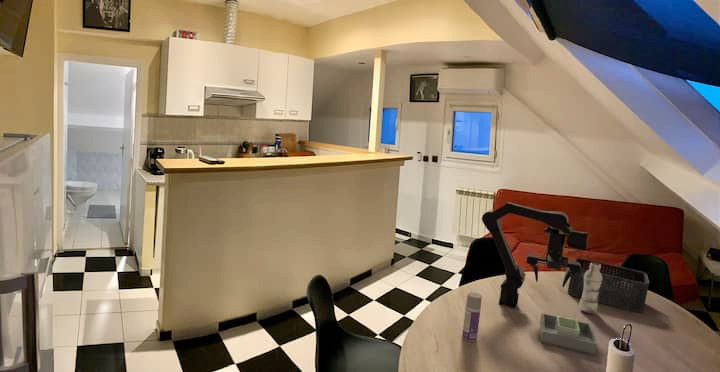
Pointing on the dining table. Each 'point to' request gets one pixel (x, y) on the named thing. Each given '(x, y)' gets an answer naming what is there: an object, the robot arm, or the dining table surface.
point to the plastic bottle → (591, 289)
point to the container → (472, 317)
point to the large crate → (582, 344)
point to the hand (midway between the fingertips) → (549, 284)
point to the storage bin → (614, 286)
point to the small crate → (567, 327)
